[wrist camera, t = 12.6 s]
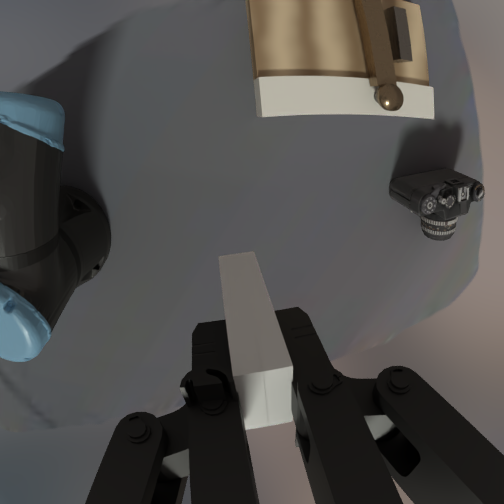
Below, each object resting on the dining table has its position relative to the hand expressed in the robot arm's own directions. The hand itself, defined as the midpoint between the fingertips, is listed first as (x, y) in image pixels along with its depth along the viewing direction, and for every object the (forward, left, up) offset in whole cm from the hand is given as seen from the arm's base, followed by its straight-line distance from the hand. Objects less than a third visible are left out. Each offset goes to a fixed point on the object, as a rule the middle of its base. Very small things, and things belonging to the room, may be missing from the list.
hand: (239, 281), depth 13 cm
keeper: (+25, +18, -26) cm, 41 cm away
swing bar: (+21, +16, -25) cm, 37 cm away
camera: (+34, -8, -30) cm, 46 cm away
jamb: (+19, +9, -29) cm, 36 cm away
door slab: (+19, +18, -29) cm, 39 cm away
